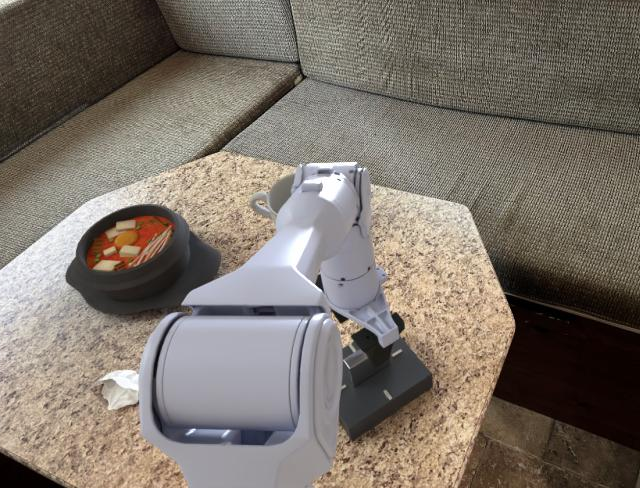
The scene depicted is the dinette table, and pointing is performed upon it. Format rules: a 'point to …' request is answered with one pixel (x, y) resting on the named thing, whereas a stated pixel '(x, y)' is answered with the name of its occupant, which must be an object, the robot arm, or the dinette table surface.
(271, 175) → the dinette table surface
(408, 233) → the dinette table surface
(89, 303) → the casserole
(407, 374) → the block
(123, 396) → the tissue
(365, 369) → the tap handle
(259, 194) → the teacup
